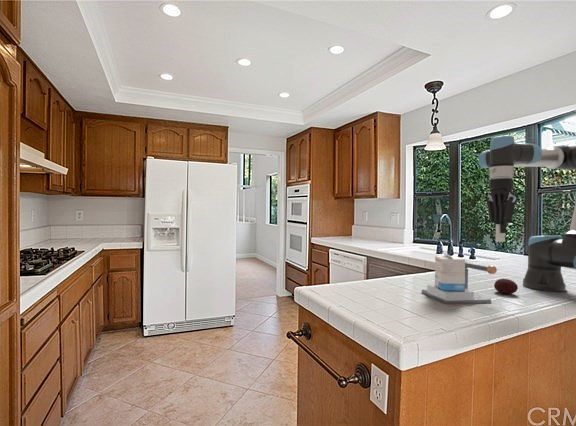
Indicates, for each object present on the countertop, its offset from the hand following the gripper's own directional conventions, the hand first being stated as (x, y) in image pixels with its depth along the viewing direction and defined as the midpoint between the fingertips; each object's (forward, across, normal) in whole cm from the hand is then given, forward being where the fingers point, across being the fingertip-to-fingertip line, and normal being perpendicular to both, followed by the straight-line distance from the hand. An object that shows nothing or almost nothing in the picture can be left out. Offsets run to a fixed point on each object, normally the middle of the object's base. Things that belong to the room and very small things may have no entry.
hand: (500, 241), depth 124 cm
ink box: (+18, -4, -18) cm, 26 cm away
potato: (+23, -10, +11) cm, 27 cm away
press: (+22, -6, -14) cm, 27 cm away
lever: (+12, -5, -6) cm, 14 cm away
